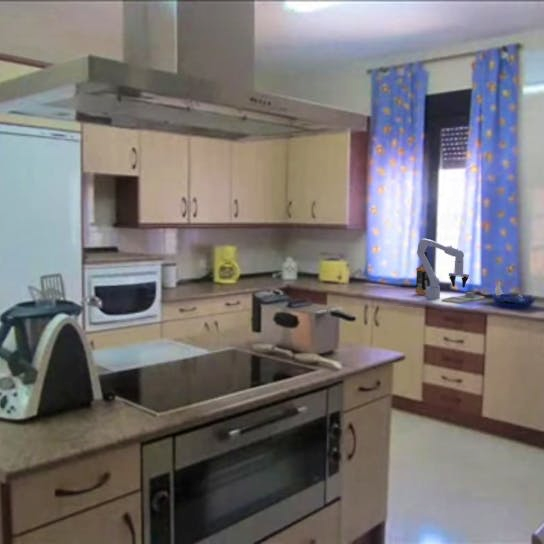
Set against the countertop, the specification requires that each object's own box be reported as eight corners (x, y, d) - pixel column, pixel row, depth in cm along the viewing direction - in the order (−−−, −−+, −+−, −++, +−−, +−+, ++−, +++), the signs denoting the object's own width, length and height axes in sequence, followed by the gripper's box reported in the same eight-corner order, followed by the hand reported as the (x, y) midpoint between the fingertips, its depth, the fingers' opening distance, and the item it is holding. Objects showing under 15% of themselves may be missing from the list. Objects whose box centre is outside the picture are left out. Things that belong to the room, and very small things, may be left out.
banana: (521, 304, 402) (522, 282, 400) (493, 301, 414) (494, 280, 412) (524, 303, 405) (525, 281, 404) (496, 300, 417) (496, 279, 416)
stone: (465, 299, 421) (465, 292, 420) (468, 298, 424) (468, 291, 423) (471, 299, 417) (471, 293, 417) (474, 298, 421) (474, 292, 420)
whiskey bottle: (433, 294, 448) (434, 251, 445) (422, 295, 445) (423, 252, 441) (425, 292, 458) (426, 250, 454) (414, 293, 454) (415, 251, 451)
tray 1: (441, 302, 413) (441, 299, 413) (451, 300, 423) (451, 296, 423) (460, 304, 403) (460, 301, 403) (470, 302, 413) (470, 298, 413)
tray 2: (456, 300, 421) (456, 296, 421) (465, 298, 431) (465, 294, 430) (474, 302, 411) (474, 299, 411) (484, 300, 421) (484, 296, 421)
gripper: (446, 267, 423) (446, 286, 424) (465, 268, 412) (465, 288, 414) (451, 266, 428) (451, 285, 429) (470, 267, 417) (470, 287, 419)
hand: (458, 286), depth 422 cm, fingers open, 7 cm apart
